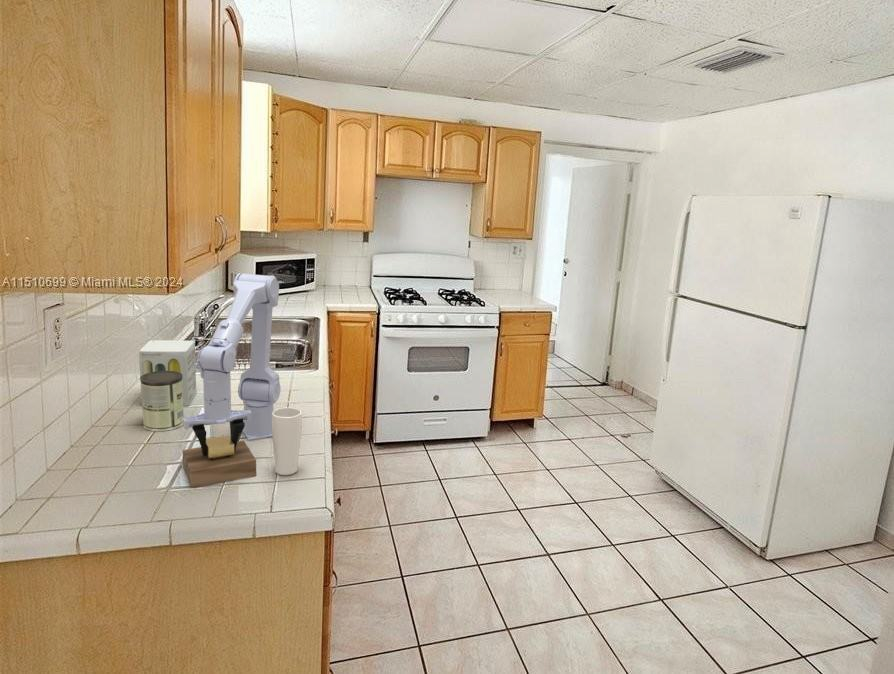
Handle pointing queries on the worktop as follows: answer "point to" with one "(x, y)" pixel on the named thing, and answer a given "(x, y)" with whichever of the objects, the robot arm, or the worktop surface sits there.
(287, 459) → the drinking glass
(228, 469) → the brown wooden block
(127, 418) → the worktop surface
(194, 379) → the supplement box
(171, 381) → the coffee can
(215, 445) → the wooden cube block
